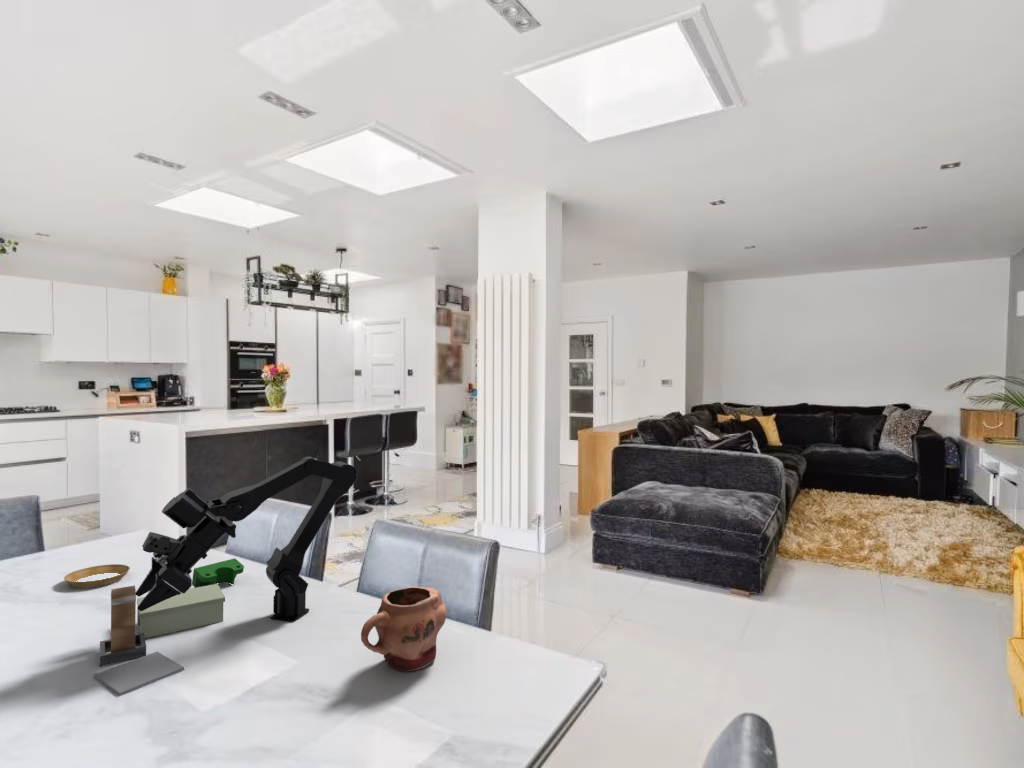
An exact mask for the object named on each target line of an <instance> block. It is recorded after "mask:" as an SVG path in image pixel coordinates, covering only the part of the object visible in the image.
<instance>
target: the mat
mask: <svg viewBox="0 0 1024 768" xmlns="http://www.w3.org/2000/svg"><path fill="white" fill-rule="evenodd" d="M182 671H185V666H183V665H181V664H180V663H178V662H176V661H174V660H173V659H171V658H170V657H168V656H166V655H164V654H163V653H161V652H159V651H155V652H152V653H150V654H146V656H143V657H139V658H135V659H131V660H129V661H127V662H125V663H121V664H119V665H117V666H114V667H110V668H108V669H105V670H103V671H100V672H97V673H94V674H93V678H95V679H96V680H97V681H99V682H100V683H102V684H103V685H104V686H106V688H107V687H108V689H110V690H111V691H113V692H114V693H116V694H117V695H119V697H120V696H123V695H126V694H127V693H130V692H132V691H135V690H138V689H139V688H142V687H145V686H148V685H150V684H152V683H153V684H154V683H155V682H157V681H160V680H163V679H165V678H168V677H170V676H173V675H175V674H177V673H179V672H182Z"/></svg>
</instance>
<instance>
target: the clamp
mask: <svg viewBox="0 0 1024 768" xmlns="http://www.w3.org/2000/svg"><path fill="white" fill-rule="evenodd" d="M244 569H245V565H244V564H243V563H241V562H240V561H239V560H237V559H236V558H230V559H226V560H223V561H218V562H215V563H210V564H207V565H202V566H199V567H193V571H192V572H193V573H192V578H191V579H192V586H193V587H194V588H197V587H203V586H208V585H214V584H217V583H221V584H224V583H225V584H229V583H231V584H234V585H235V579H236V578H237V575H239V574H240V575H241V574H242V573H243V572H244ZM235 577H236V578H235Z"/></svg>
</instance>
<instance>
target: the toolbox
mask: <svg viewBox="0 0 1024 768" xmlns="http://www.w3.org/2000/svg"><path fill="white" fill-rule="evenodd" d="M219 585H220V584H214V585H208V586H203V587H197V588H195V587H194V588H193V587H192V588H189V589H188V590H187V591H186V592H185V593H182V592H181V594H180V595H176V596H173V597H171V598H169V599H166V600H164V601H162V602H160V603H158V604H156V605H154V606H151V607H149V608H147V609H145V610H143V611H140V610H138V609H137V608H136V610H137V616H136V618H137V619H136V623H137V627H138V628H139V633H143V632H144V635H145V639H148V638H152V637H156V636H162V635H165V634H170V633H175V632H176V633H177V632H181V631H185V630H189V629H194V628H199V627H202V626H207V625H212V624H217V623H221V622H224V603H225V602H226V597H225V594H224V593H223V591H222V589H221V587H220V586H219ZM145 597H146V596H143V597H142V596H141V597H136V602H137V607H138V606H139V604H140V603H141V602H142V600H143V599H144V598H145Z"/></svg>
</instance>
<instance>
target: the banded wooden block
mask: <svg viewBox="0 0 1024 768" xmlns="http://www.w3.org/2000/svg"><path fill="white" fill-rule="evenodd" d="M110 590H111V591H110V639H111V651H110V652H115V651H119V650H124V649H128V648H133V647H136V645H135V634H136V610H137V608H136V602H137V595H136V591H137V590H136V585H135V584H134V585H130V586H129V585H128V586H125V587H124V586H123V587H117V588H112V589H110Z"/></svg>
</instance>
